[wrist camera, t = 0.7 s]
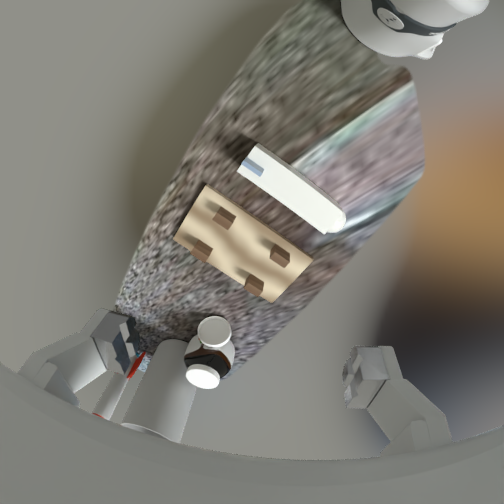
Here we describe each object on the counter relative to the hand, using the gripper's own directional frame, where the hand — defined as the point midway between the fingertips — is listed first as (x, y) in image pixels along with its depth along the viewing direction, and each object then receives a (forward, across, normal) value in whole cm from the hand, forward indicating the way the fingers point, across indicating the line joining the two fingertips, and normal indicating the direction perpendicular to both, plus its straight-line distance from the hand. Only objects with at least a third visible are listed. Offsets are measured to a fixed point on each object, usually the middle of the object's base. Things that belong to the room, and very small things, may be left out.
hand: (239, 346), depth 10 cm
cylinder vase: (+37, +19, +47) cm, 63 cm away
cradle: (+37, +5, +15) cm, 40 cm away
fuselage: (+37, -3, +3) cm, 37 cm away
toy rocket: (+37, +33, +50) cm, 71 cm away
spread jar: (+37, +10, +37) cm, 54 cm away
